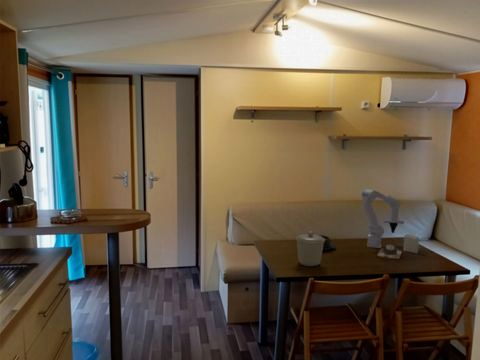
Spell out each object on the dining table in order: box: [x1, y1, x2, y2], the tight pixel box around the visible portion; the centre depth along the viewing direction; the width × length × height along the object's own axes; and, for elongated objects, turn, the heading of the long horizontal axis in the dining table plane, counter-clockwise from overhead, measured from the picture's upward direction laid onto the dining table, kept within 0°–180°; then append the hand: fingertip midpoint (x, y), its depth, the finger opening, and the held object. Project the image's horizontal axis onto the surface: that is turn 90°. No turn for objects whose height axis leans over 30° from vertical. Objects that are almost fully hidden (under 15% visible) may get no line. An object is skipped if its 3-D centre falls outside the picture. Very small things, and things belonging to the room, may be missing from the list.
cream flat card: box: [376, 246, 403, 260], centre depth 287 cm, size 14×18×4 cm
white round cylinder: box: [385, 244, 395, 250], centre depth 287 cm, size 5×5×5 cm
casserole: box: [318, 234, 337, 252], centre depth 297 cm, size 25×19×8 cm
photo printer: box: [403, 233, 420, 254], centre depth 295 cm, size 10×4×12 cm, turn 39°
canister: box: [295, 230, 325, 267], centre depth 261 cm, size 18×18×21 cm
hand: (392, 232), depth 311 cm, fingers closed
